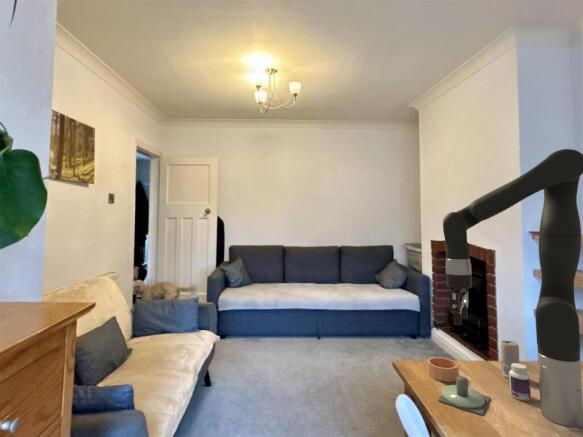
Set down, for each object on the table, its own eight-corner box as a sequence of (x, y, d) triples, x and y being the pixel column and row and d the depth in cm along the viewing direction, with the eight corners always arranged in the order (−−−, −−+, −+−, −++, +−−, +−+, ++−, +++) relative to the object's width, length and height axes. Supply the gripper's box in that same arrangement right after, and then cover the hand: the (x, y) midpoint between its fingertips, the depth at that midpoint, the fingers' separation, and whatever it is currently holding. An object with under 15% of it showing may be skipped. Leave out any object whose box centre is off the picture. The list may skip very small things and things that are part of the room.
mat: (490, 398, 99) (490, 396, 99) (482, 415, 90) (482, 414, 90) (449, 386, 107) (449, 384, 107) (438, 401, 98) (438, 399, 98)
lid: (488, 396, 99) (487, 376, 100) (480, 413, 90) (479, 392, 91) (447, 384, 107) (446, 366, 108) (436, 399, 98) (435, 379, 99)
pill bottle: (534, 402, 96) (533, 369, 97) (515, 400, 98) (513, 368, 98) (525, 393, 102) (523, 362, 102) (506, 391, 103) (505, 361, 103)
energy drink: (514, 373, 115) (513, 340, 116) (523, 380, 110) (522, 345, 110) (499, 373, 116) (497, 340, 116) (507, 380, 110) (506, 345, 111)
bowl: (461, 374, 115) (461, 361, 115) (454, 385, 108) (453, 371, 108) (433, 367, 122) (432, 355, 122) (424, 376, 114) (423, 363, 115)
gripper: (466, 275, 96) (469, 329, 95) (475, 270, 107) (478, 318, 106) (440, 274, 101) (442, 325, 100) (451, 269, 112) (453, 315, 111)
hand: (460, 321), depth 103 cm, fingers open, 8 cm apart
